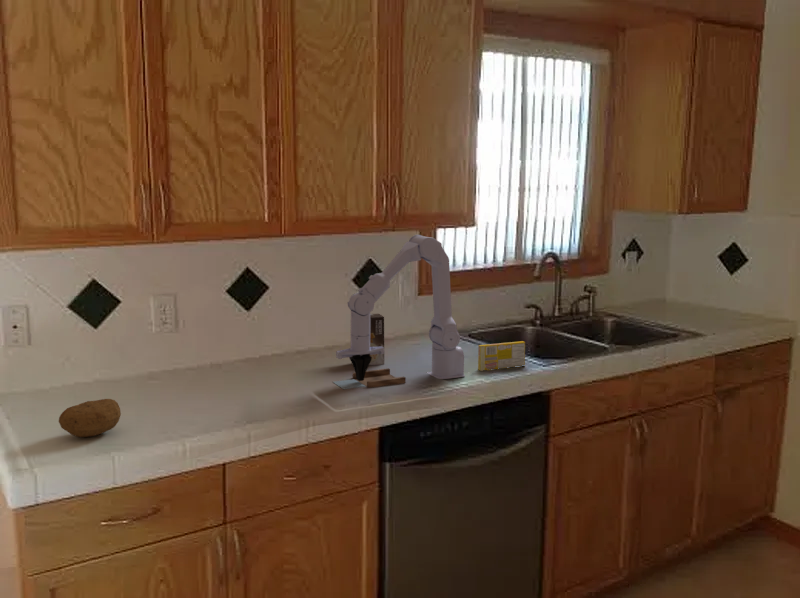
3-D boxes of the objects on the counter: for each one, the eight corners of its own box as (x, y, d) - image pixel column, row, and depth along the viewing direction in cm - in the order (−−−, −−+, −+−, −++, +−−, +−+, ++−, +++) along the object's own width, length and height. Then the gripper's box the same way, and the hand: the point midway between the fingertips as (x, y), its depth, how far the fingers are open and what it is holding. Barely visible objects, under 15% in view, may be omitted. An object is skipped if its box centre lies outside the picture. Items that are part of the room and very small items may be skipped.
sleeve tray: (388, 375, 238) (388, 368, 238) (405, 384, 229) (405, 377, 228) (352, 379, 233) (352, 372, 232) (368, 389, 223) (368, 382, 223)
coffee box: (379, 361, 255) (380, 313, 252) (384, 366, 249) (385, 316, 246) (352, 362, 253) (352, 314, 250) (356, 367, 247) (356, 318, 244)
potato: (53, 436, 182) (51, 403, 181) (112, 423, 192) (110, 392, 190) (68, 448, 175) (66, 414, 174) (129, 434, 185) (127, 401, 183)
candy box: (521, 365, 253) (522, 340, 251) (525, 367, 251) (526, 342, 249) (477, 369, 247) (478, 344, 245) (480, 371, 245) (481, 345, 243)
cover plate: (354, 382, 231) (354, 379, 231) (365, 390, 224) (365, 386, 224) (332, 385, 228) (332, 381, 228) (343, 393, 221) (343, 389, 221)
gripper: (377, 329, 232) (376, 373, 235) (331, 333, 226) (331, 379, 228) (387, 334, 226) (387, 379, 228) (341, 338, 219) (341, 385, 222)
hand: (360, 379), depth 228 cm, fingers closed
